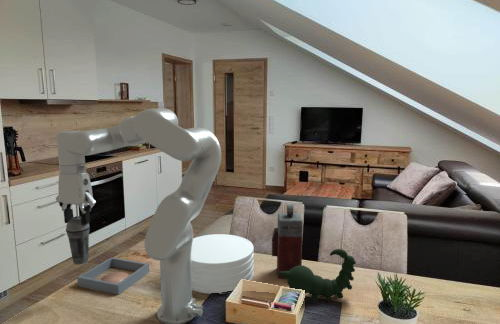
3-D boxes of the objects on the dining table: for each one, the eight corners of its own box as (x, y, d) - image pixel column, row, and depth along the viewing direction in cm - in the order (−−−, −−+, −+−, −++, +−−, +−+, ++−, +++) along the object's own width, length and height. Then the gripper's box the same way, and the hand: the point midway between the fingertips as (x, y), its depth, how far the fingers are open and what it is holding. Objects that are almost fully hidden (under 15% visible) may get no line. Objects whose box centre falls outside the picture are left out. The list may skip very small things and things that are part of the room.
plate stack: (256, 261, 153) (256, 235, 151) (249, 296, 125) (249, 265, 123) (191, 258, 155) (190, 232, 153) (171, 291, 128) (170, 261, 126)
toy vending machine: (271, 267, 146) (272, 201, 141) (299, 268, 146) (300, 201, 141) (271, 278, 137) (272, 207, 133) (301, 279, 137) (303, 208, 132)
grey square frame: (149, 272, 142) (149, 263, 142) (118, 294, 125) (118, 285, 125) (112, 265, 148) (111, 257, 147) (78, 286, 131) (77, 277, 131)
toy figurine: (345, 295, 129) (275, 287, 129) (353, 245, 125) (281, 237, 126) (351, 310, 119) (276, 302, 120) (360, 257, 116) (282, 248, 117)
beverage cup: (66, 267, 116) (60, 207, 113) (71, 258, 123) (66, 201, 120) (91, 264, 118) (86, 205, 115) (94, 255, 125) (89, 200, 122)
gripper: (102, 168, 116) (106, 222, 119) (61, 165, 122) (66, 217, 125) (85, 172, 109) (90, 229, 112) (42, 169, 115) (47, 223, 118)
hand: (77, 222), depth 119 cm, fingers closed on beverage cup, 6 cm apart
